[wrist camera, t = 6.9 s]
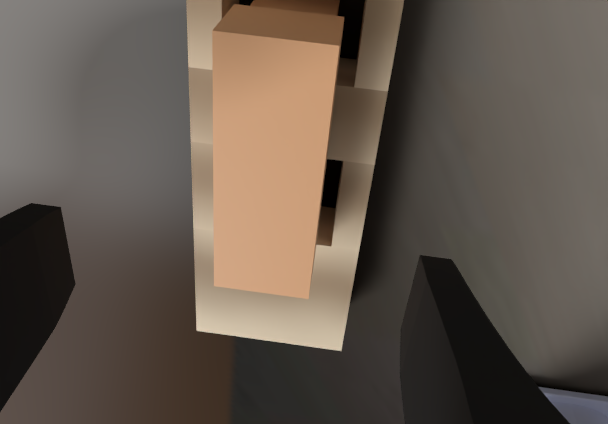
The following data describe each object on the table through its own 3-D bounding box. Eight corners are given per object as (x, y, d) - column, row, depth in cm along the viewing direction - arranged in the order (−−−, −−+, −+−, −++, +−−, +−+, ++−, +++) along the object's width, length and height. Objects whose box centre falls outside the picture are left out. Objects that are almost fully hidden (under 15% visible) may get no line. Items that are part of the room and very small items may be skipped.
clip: (322, 203, 22) (308, 299, 18) (247, 193, 22) (213, 286, 18) (349, -9, 18) (339, 45, 13) (254, -20, 18) (212, 30, 13)
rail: (343, 308, 25) (340, 351, 23) (211, 290, 25) (196, 330, 23) (446, -284, 14) (458, -305, 12) (205, -307, 14) (176, -332, 12)
